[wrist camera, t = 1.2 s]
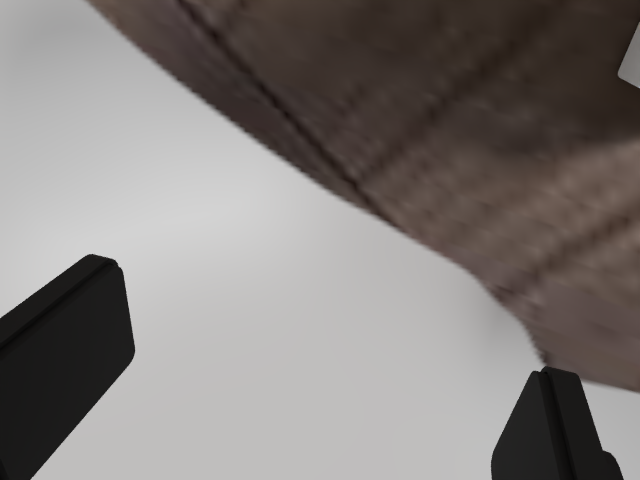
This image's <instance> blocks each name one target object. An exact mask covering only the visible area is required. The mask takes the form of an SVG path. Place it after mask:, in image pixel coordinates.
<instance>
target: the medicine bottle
mask: <svg viewBox="0 0 640 480" xmlns="http://www.w3.org/2000/svg"><path fill="white" fill-rule="evenodd" d="M618 76H619V78H621V79H623V80H625V81H627V82H629V83H631V84H632V85H634V86H636V87H638V88H640V22H639V24H638V26H637V29H636V31H635V33H634V36H633V38H632V40H631V43H630V45H629V47H628V50H627V52H626V54H625V57H624V59H623V61H622V64H621V66H620V68H619V71H618Z"/></svg>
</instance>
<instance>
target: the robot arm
mask: <svg viewBox="0 0 640 480" xmlns="http://www.w3.org/2000/svg"><path fill="white" fill-rule="evenodd" d="M134 354H135V345H134V339H133V333H132V326H131V320H130V313H129V307H128V301H127V294H126V288H125V281H124V275H123V271H122V269H121V268H120V267H119V266H118V263H117V262H116V261H115V260H113V259H110V258H106V257H102V256H98V255H94V254H89V255H87V256H85V257H83V258H82V259H81V260H79V261H78V262H77V263H75V264H74V265H72V266H71V267H70V268H68V269H67V270H66V271H64V272H63V273H62V274H60V275H59V276H57V277H56V278H55V279H53V280H52V281H51V282H49V283H48V284H47V285H45V286H44V287H42V288H41V289H40V290H38V291H37V292H36V293H34V294H33V295H31V296H30V297H29V298H28V299H26V300H25V301H23V302H22V303H20V304H19V305H18V306H16V307H15V308H14V309H13V310H11V311H10V312H8V313H7V314H6V315H4V316H3V317H1V318H0V480H30V479H31V478H32V477H33V476H34V475H35V474H36V473H37V471H38V470H39V469H40V468H41V467H42V466H43V464H44V463H45V462H46V461H47V460H48V459H49V457H50V456H51V455H52V454H53V453H54V452H55V450H56V449H57V448H58V447H59V446H60V445H61V443H62V442H63V441H64V440H65V439H66V438H67V437H68V435H69V434H70V433H71V432H72V431H73V430H74V428H75V427H76V426H77V425H78V424H79V423H80V421H81V420H82V419H83V418H84V417H85V416H86V414H87V413H88V412H89V411H90V410H91V409H92V407H93V406H94V405H95V404H96V403H97V402H98V400H99V399H100V398H101V397H102V396H103V395H104V393H105V392H106V391H107V390H108V389H109V388H110V386H111V385H112V384H113V383H114V382H115V381H116V379H117V378H118V377H119V376H120V375H121V374H122V373H123V371H124V370H125V369H126V368H127V366H128V365H129V364H130V363H131V361H132V359H133V357H134ZM491 473H492V480H624V479H623V476H622V473H621V471H620V467H619V465H618V463H617V461H616V459H615V458H614V457H613V456H612V454H611V453H609V452H606V451H603V450H602V447H601V443H600V441H599V437H598V434H597V431H596V428H595V425H594V422H593V418H592V415H591V412H590V409H589V406H588V403H587V399H586V397H585V393H584V390H583V387H582V384H581V381H580V378H579V376H578V375H577V374H576V373H572V372H568V371H564V370H560V369H556V368H552V367H548V366H545V367H544V368H543V369H542V370H541V372H538V371H533V372H532V373H531V374H530V376H529V378H528V380H527V383H526V384H525V386H524V389H523V391H522V393H521V395H520V397H519V399H518V401H517V403H516V405H515V407H514V409H513V411H512V413H511V416H510V418H509V420H508V422H507V424H506V426H505V428H504V430H503V432H502V434H501V436H500V438H499V440H498V443H497V445H496V447H495V449H494V451H493V455H492V460H491Z"/></svg>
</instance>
